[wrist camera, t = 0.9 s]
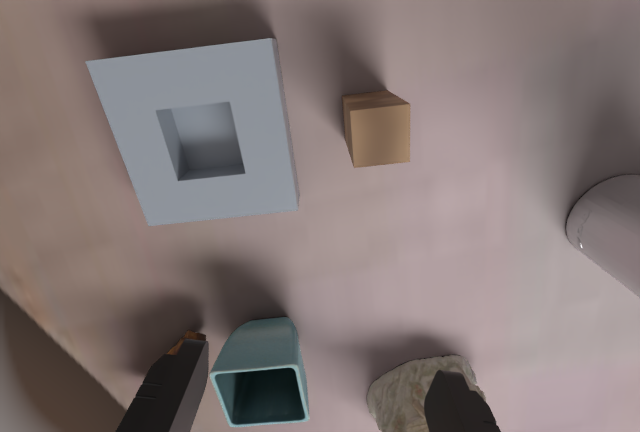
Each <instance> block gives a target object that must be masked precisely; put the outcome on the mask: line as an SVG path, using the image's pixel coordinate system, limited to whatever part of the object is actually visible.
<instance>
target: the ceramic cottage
mask: <svg viewBox="0 0 640 432" xmlns="http://www.w3.org/2000/svg"><path fill="white" fill-rule="evenodd" d="M438 370H445V371H453V372H460V373H462V374H463V376H464V378H465V380H466V382H467V385H468V387H469V389H470V390H473V391H477V392H478V393H479V395H480V396H481V397H482V398H483V399H484V401H485V402H486V397H485V395H484V392H483V391H481V390H480V388H479V387H478V386H476V385H475V384H476V383H477V382H476V377H475V374H474V372H473V371H472V370H471V367H470V364H468V362H467V360H466V359H465V358H463V357H461V356H458V355H455V356H454V355H450V356H445V357H441V356H440V357H438V356H437V357H433V358H426V359H421V360H420V359H419V360H418V359H416V360H414V361H410V362H409V361H408V362H407V363H404V364H402V365H400V366H398V367H396V368H395V369H393V371H389V372H387V373H385V374H384V375H382V376H381V377H380V378H379V379H378V380H377V379H376V380H375V381H374V382H373V383H372V385H371V386H370V388H369V391H368V394H367V404H368V408H369V412H370V413H371V414H372V416H373V417H374V418H375V419H376V422H377V425H378V428H379V430H381V431H382V432H429V429H428V425H427V422H426V418H425V413H424V401H425V397H426V394H427V392H428V390H429V387H430V385H431V383H432V381H433V378H434V376H435V374H436V372H437V371H438Z"/></svg>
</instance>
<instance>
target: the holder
mask: <svg viewBox="0 0 640 432" xmlns="http://www.w3.org/2000/svg"><path fill="white" fill-rule="evenodd" d="M85 62H86V64H87V67H88V70H89V72H90V75H91V77H92V80H93V83H94V85H95V88H96V90H97V93H98V96H99V98H100V101H101V103H102V106H103V109H104V111H105V114H106V116H107V119H108V122H109V124H110V127H111V129H112V132H113V135H114V137H115V140H116V142H117V145H118V148H119V150H120V153H121V155H122V158H123V161H124V163H125V166H126V169H127V171H128V174H129V176H130V179H131V182H132V184H133V187H134V189H135V192H136V195H137V197H138V200H139V202H140V205H141V208H142V210H143V213H144V215H145V218H146V221H147V223H148V226H154V225H163V224H173V223H182V222H192V221H202V220H211V219H221V218H230V217H240V216H249V215H259V214H269V213H278V212H288V211H297V210H298V206H299V197H300V194H299V188H298V181H297V174H296V168H295V161H294V154H293V148H292V141H291V134H290V128H289V121H288V114H287V108H286V101H285V94H284V88H283V81H282V74H281V67H280V61H279V54H278V47H277V41H276V39H274V38H267V39H259V40H251V41H243V42H235V43H227V44H219V45H211V46H203V47H195V48H187V49H179V50H172V51H164V52H156V53H148V54H140V55H132V56H124V57H116V58H108V59H100V60H92V61H85Z"/></svg>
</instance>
